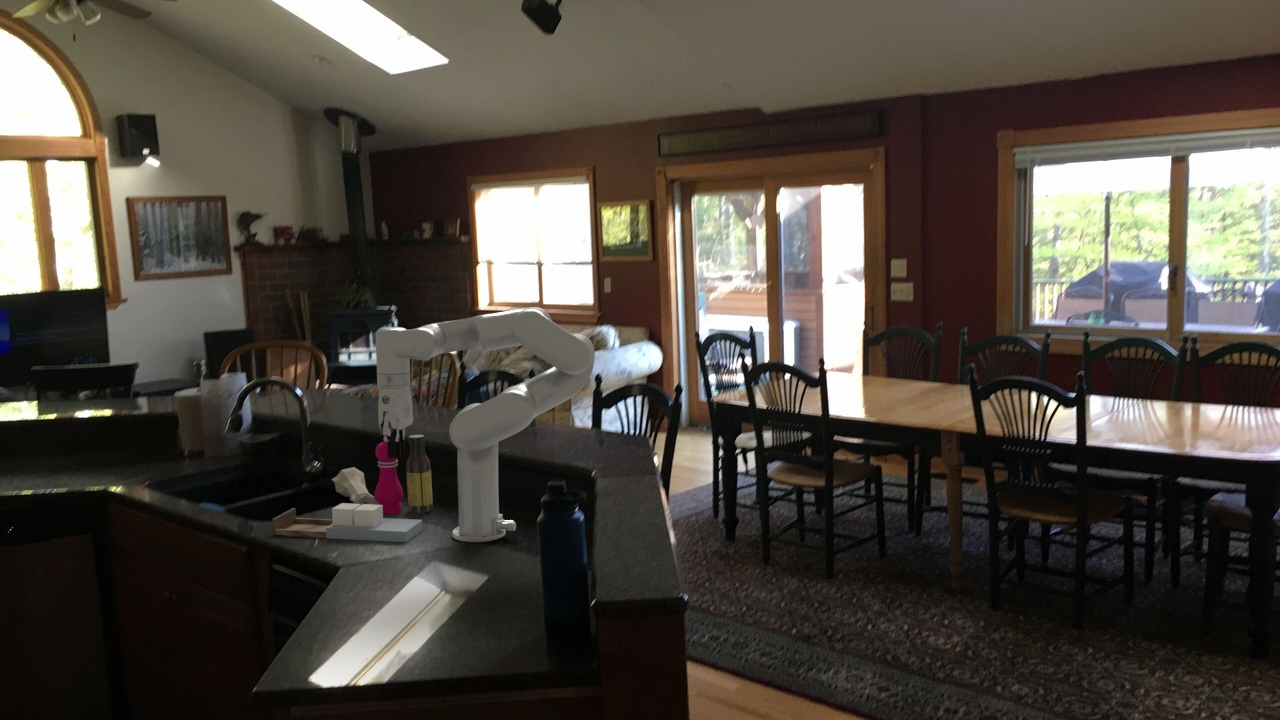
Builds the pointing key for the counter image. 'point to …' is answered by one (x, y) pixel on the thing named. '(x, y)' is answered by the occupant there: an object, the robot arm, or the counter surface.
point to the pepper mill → (388, 482)
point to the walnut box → (300, 525)
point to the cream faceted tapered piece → (353, 486)
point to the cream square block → (344, 514)
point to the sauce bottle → (418, 477)
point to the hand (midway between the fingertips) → (396, 456)
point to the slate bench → (378, 530)
